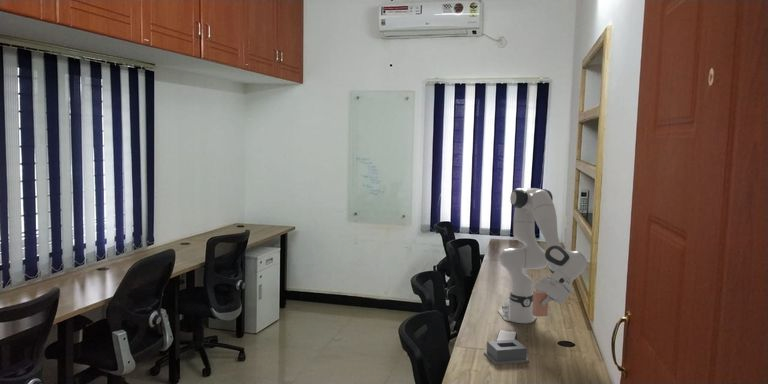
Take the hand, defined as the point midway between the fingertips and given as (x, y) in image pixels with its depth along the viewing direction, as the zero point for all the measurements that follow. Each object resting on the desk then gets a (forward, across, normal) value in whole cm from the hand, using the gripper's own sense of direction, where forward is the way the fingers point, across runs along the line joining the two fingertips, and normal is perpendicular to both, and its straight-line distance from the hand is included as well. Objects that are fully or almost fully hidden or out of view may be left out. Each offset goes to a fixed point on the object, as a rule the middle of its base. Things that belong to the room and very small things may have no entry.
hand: (539, 302), depth 245 cm
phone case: (+22, -15, +11) cm, 29 cm away
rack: (+29, +6, +3) cm, 30 cm away
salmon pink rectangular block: (+4, 0, +5) cm, 6 cm away
